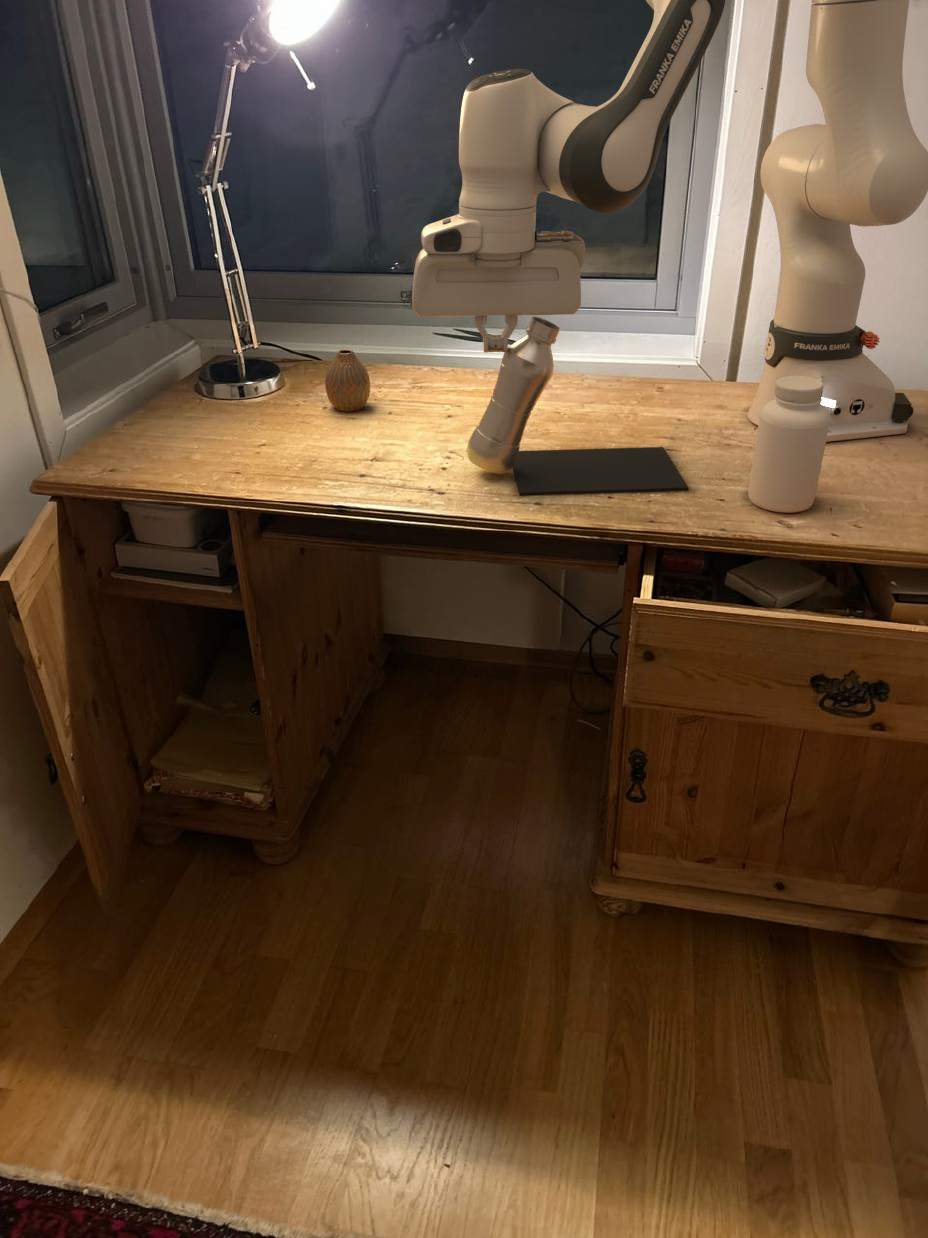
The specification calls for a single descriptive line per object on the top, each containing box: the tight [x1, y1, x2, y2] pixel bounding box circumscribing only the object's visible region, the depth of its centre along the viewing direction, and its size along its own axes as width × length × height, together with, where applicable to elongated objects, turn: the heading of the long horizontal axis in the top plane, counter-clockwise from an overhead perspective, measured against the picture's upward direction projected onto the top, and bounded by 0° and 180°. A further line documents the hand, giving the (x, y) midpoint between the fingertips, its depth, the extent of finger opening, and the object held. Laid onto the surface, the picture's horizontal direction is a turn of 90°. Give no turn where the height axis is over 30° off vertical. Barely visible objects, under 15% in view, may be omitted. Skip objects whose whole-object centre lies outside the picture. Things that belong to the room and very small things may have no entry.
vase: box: [324, 348, 371, 412], centre depth 147 cm, size 7×7×9 cm
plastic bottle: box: [466, 316, 561, 475], centre depth 121 cm, size 6×7×20 cm
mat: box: [512, 446, 689, 496], centre depth 127 cm, size 22×14×1 cm, turn 93°
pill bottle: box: [747, 376, 830, 514], centre depth 114 cm, size 8×8×15 cm
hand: (495, 351), depth 118 cm, fingers closed
